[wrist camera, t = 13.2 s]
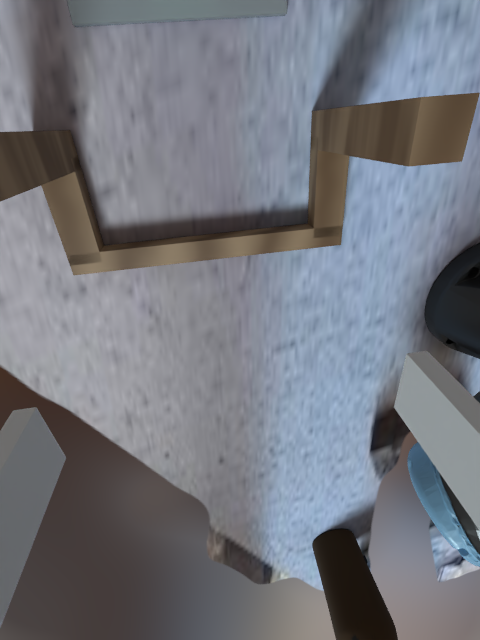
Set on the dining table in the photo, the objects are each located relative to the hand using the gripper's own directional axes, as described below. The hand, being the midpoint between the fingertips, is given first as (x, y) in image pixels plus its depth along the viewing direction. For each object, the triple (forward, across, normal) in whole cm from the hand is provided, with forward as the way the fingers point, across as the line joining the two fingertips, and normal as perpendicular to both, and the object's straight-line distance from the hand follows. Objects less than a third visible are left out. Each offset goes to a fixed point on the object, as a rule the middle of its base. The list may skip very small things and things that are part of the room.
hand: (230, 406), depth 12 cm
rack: (+25, 0, -3) cm, 25 cm away
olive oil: (+25, -18, +71) cm, 77 cm away
